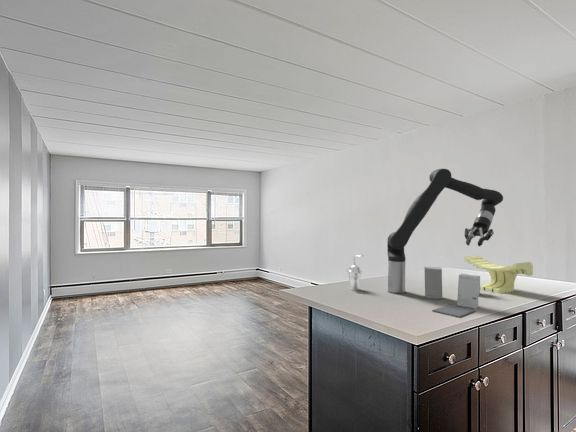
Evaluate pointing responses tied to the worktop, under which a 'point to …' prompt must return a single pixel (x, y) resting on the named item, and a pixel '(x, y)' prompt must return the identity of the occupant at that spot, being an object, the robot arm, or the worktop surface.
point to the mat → (454, 310)
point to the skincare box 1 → (433, 282)
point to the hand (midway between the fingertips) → (473, 244)
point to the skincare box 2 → (468, 291)
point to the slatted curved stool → (500, 274)
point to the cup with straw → (354, 275)
